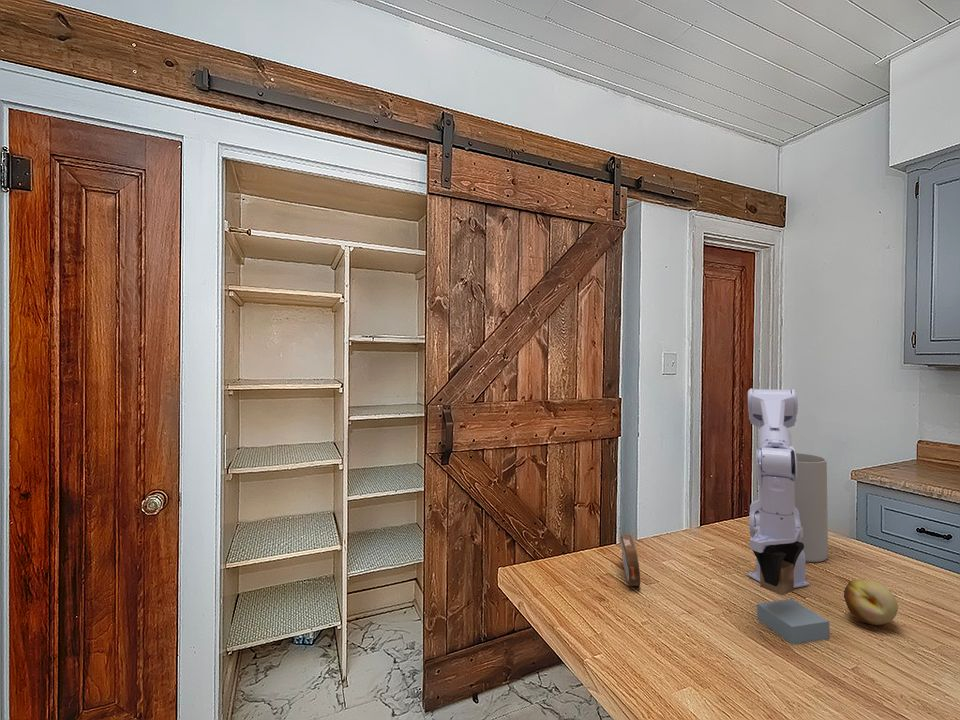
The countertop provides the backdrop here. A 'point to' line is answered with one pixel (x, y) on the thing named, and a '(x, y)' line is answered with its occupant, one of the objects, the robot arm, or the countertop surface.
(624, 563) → the tin
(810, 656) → the countertop surface
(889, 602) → the fruit
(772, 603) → the base block
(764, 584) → the walnut block
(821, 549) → the cylinder vase
